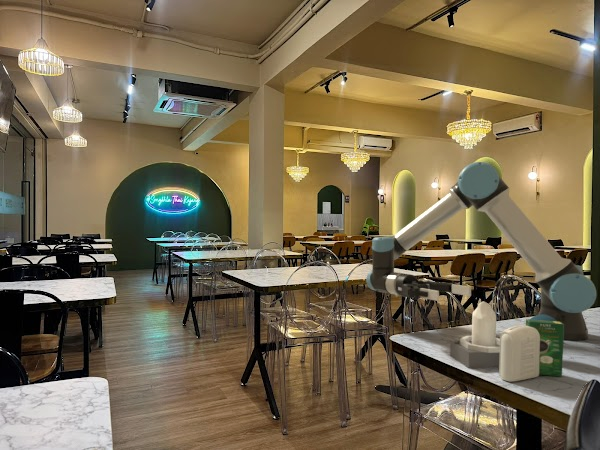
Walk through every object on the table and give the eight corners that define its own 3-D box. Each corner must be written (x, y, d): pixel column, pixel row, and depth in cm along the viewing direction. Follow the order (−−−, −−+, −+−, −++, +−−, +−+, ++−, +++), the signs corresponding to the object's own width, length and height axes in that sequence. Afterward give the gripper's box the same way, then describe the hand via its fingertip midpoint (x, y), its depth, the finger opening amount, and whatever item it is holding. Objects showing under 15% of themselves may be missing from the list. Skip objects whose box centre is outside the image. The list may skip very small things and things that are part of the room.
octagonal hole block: (496, 353, 119) (496, 334, 119) (522, 367, 108) (522, 347, 108) (449, 354, 118) (449, 336, 118) (470, 369, 106) (470, 348, 106)
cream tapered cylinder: (492, 299, 115) (500, 303, 109) (491, 343, 115) (499, 349, 110) (469, 298, 116) (476, 302, 110) (468, 342, 116) (475, 348, 110)
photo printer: (526, 371, 105) (527, 321, 104) (542, 377, 101) (543, 325, 100) (496, 377, 101) (496, 326, 100) (511, 384, 97) (512, 330, 96)
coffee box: (559, 373, 104) (560, 320, 103) (563, 377, 101) (564, 323, 101) (523, 370, 106) (524, 318, 105) (526, 374, 103) (527, 321, 102)
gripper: (429, 292, 147) (482, 302, 129) (373, 299, 135) (423, 311, 116) (429, 271, 147) (482, 277, 129) (373, 276, 135) (423, 284, 116)
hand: (454, 293), depth 122 cm, fingers open, 13 cm apart
